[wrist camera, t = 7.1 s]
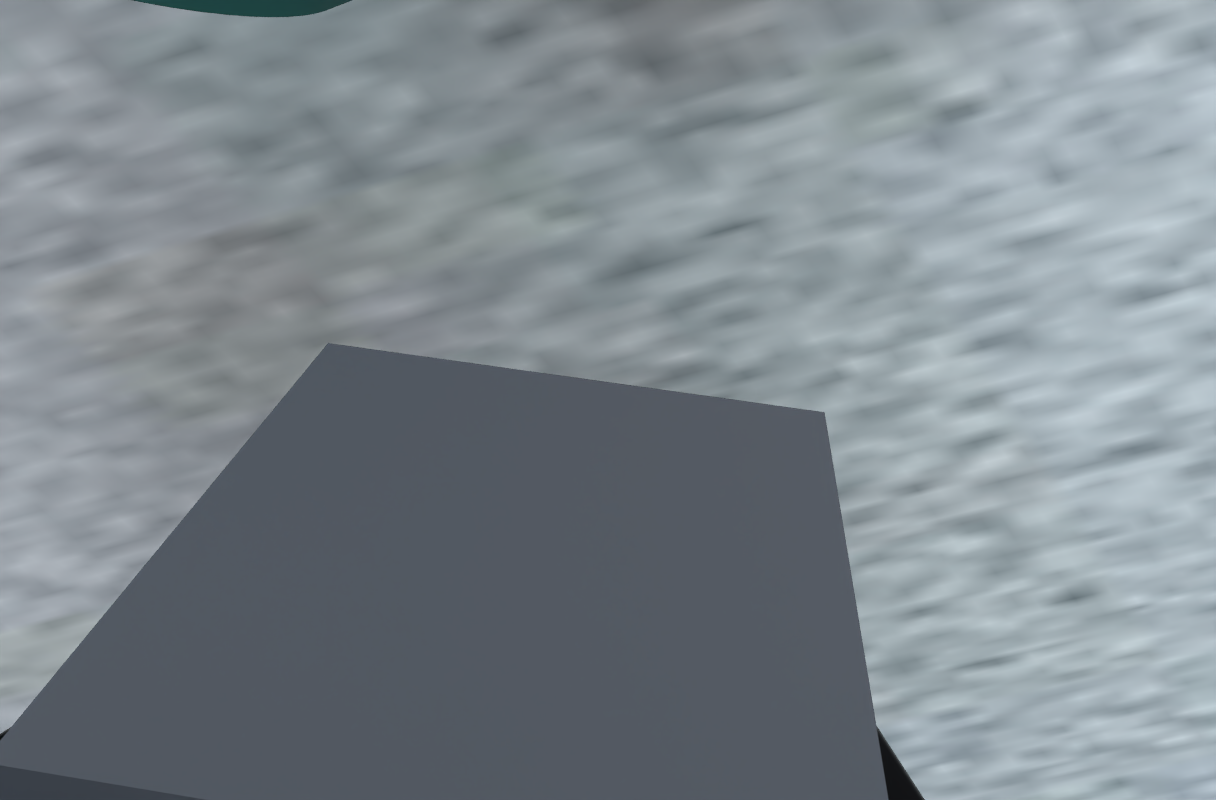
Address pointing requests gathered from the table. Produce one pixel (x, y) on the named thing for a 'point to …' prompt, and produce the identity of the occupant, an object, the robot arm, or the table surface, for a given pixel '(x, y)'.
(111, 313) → the table surface
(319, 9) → the bracket
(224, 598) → the blue cube
